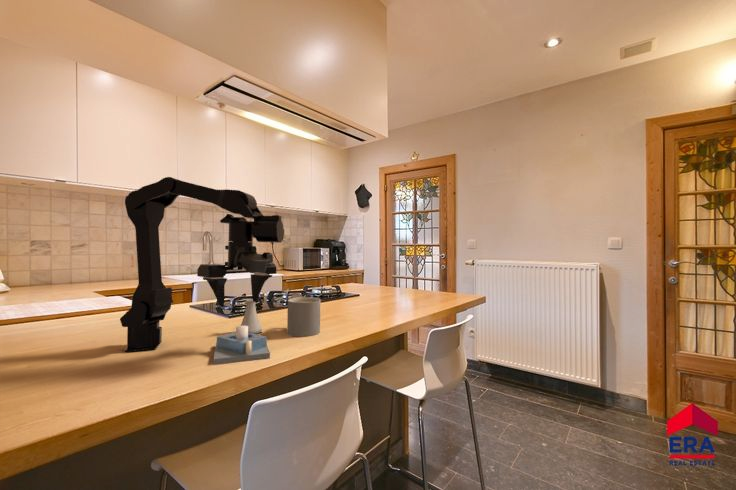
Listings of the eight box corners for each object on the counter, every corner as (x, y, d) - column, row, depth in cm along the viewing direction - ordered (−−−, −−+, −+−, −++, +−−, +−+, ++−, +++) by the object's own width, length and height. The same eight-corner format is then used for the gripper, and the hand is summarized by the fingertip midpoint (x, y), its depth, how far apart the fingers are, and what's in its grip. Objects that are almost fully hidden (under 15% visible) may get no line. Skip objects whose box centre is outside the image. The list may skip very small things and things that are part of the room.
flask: (257, 335, 95) (258, 301, 95) (233, 335, 95) (234, 301, 95) (266, 329, 102) (266, 298, 102) (243, 329, 103) (244, 297, 103)
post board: (213, 364, 71) (214, 336, 71) (216, 346, 84) (216, 322, 84) (269, 358, 76) (270, 331, 76) (264, 341, 89) (264, 319, 89)
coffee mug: (325, 334, 98) (325, 301, 98) (293, 338, 93) (293, 303, 93) (309, 324, 109) (309, 295, 109) (279, 328, 104) (280, 297, 104)
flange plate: (266, 347, 80) (266, 336, 81) (242, 354, 75) (242, 343, 75) (240, 340, 86) (241, 330, 86) (216, 347, 80) (216, 336, 80)
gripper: (223, 240, 69) (221, 314, 69) (291, 243, 84) (289, 303, 84) (197, 240, 75) (195, 307, 75) (264, 242, 91) (262, 298, 90)
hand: (239, 304), depth 81 cm, fingers open, 9 cm apart
